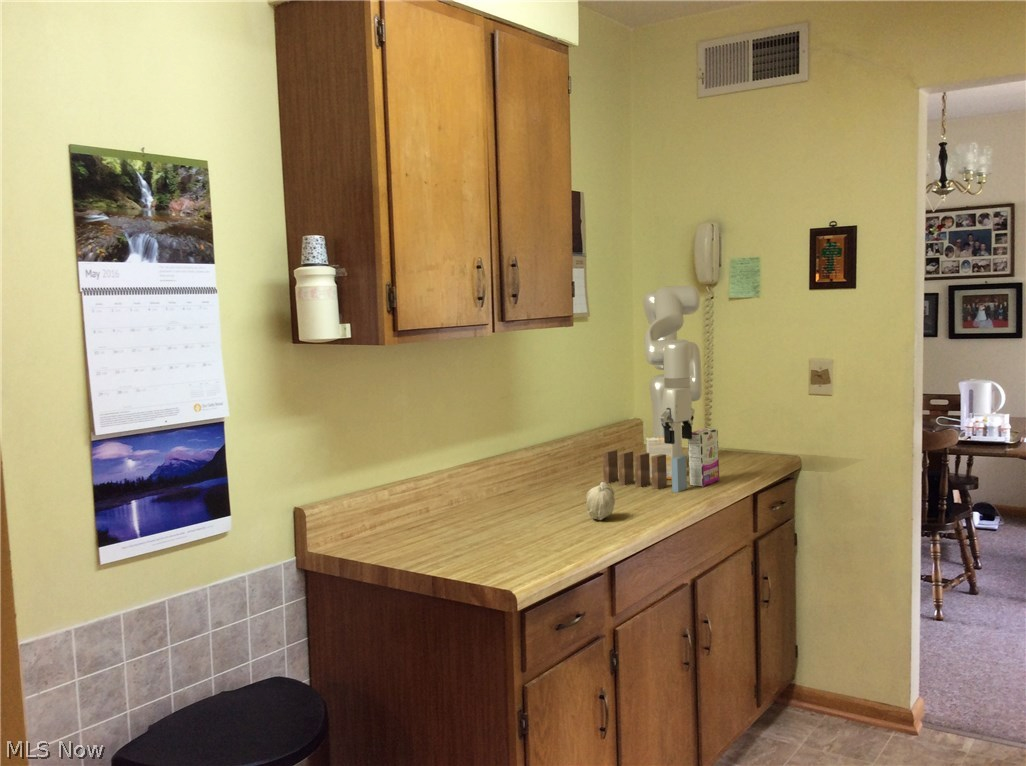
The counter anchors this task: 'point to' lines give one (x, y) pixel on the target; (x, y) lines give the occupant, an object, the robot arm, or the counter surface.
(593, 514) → the garlic bulb
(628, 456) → the domino
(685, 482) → the domino
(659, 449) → the supplement box
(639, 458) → the domino
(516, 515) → the counter surface
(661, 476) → the domino
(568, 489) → the counter surface
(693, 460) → the candy bar box
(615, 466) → the domino
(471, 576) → the counter surface
